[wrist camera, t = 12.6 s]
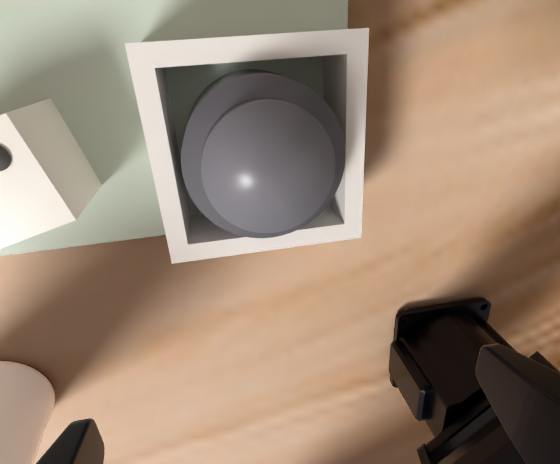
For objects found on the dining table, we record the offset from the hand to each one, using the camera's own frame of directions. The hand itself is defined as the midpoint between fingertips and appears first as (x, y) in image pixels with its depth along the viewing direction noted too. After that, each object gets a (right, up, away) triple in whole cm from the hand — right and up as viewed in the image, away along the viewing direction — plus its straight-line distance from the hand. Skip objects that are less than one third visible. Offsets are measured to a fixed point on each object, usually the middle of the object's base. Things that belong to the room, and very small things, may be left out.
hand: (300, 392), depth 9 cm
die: (-11, +7, +8) cm, 15 cm away
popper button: (-2, +8, +9) cm, 12 cm away
